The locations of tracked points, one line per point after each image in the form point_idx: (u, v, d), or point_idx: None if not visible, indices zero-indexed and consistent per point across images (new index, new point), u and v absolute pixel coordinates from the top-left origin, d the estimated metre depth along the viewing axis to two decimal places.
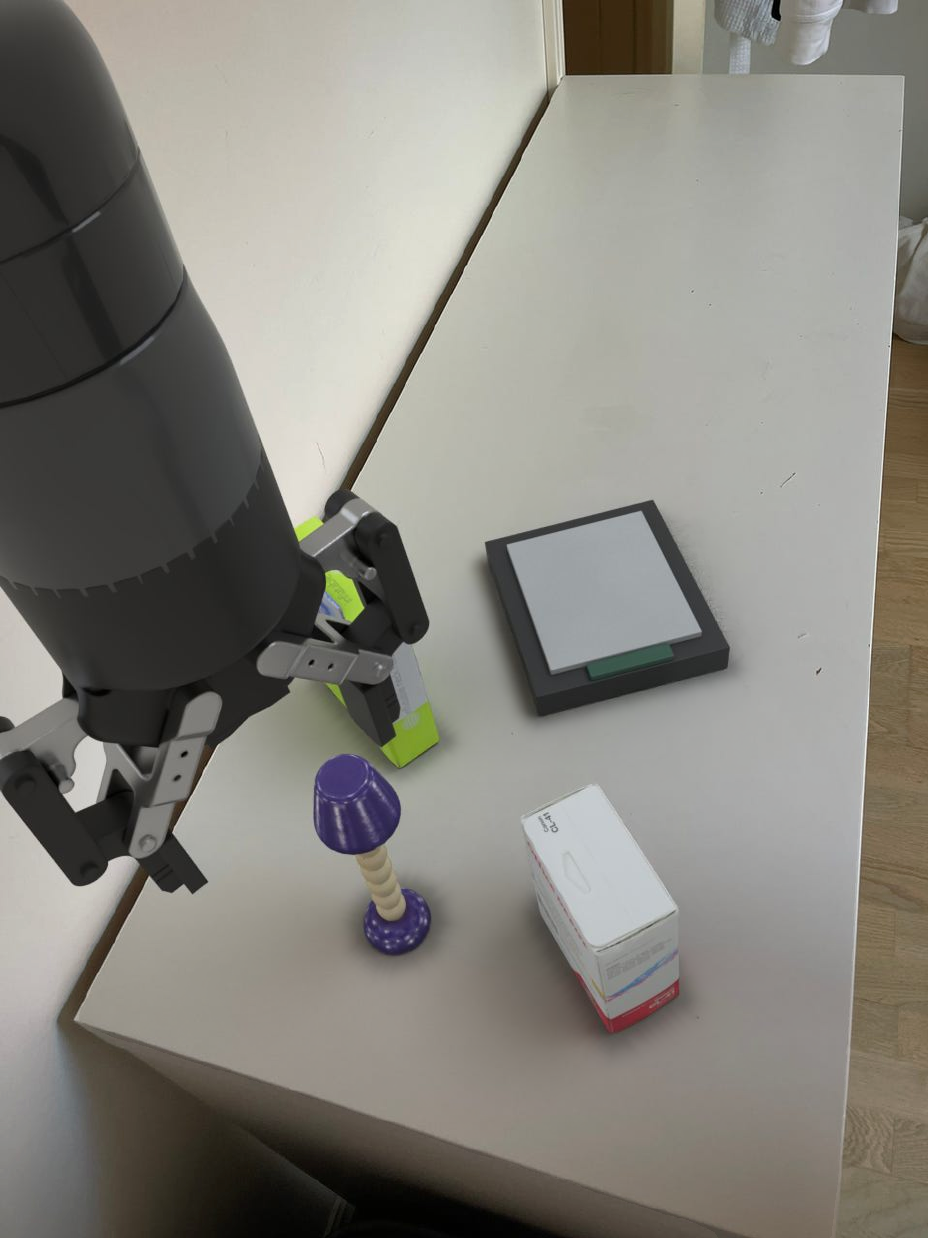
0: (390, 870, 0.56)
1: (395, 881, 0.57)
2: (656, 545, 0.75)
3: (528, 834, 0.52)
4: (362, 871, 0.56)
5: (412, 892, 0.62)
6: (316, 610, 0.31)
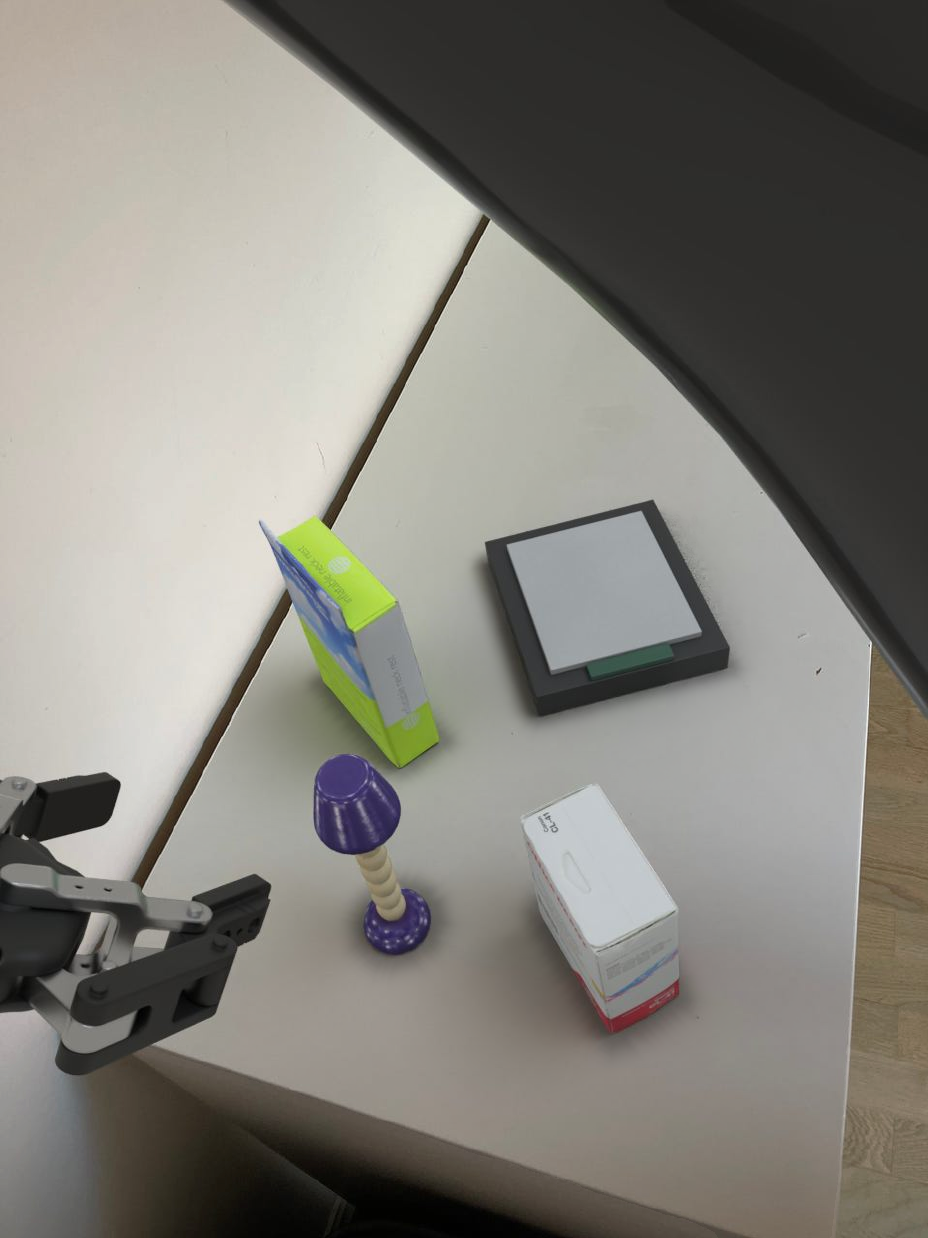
0: (390, 870, 0.56)
1: (395, 881, 0.57)
2: (656, 545, 0.75)
3: (528, 834, 0.52)
4: (362, 871, 0.56)
5: (412, 892, 0.62)
6: None
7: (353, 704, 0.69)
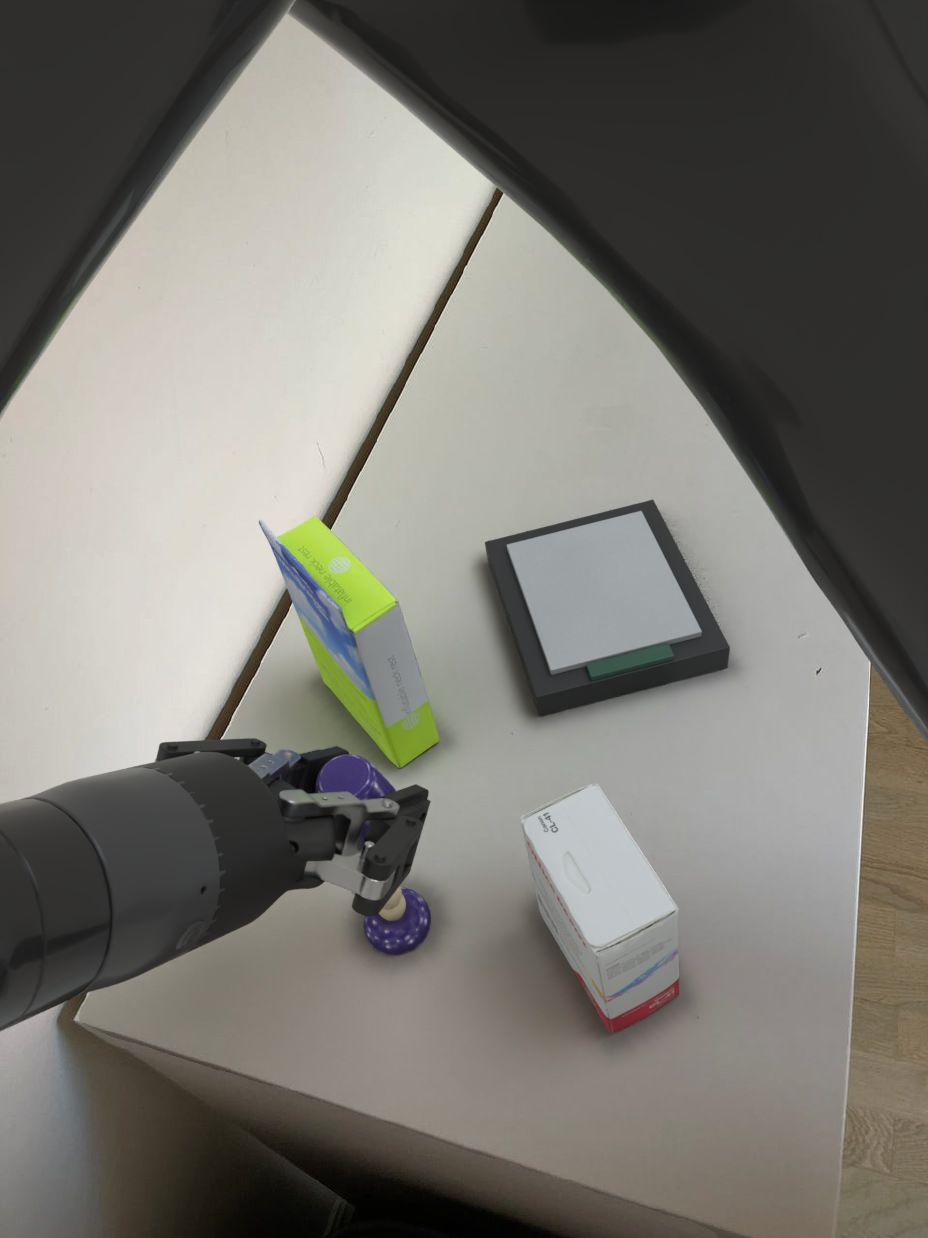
0: None
1: None
2: (656, 545, 0.75)
3: (528, 834, 0.52)
4: None
5: (412, 892, 0.62)
6: None
7: (353, 704, 0.69)
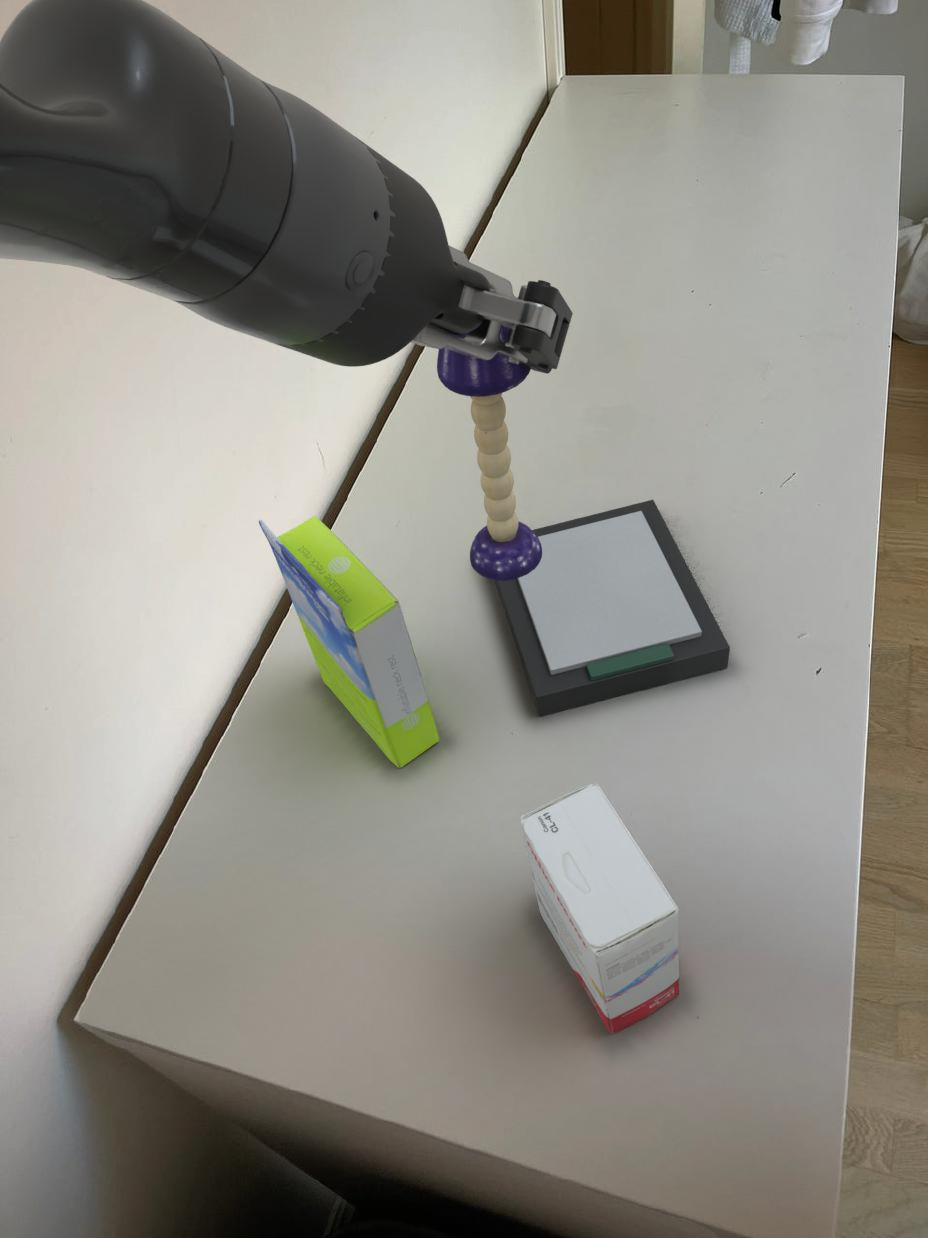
0: (509, 460, 0.52)
1: (512, 480, 0.53)
2: (656, 545, 0.75)
3: (528, 834, 0.52)
4: (480, 458, 0.52)
5: None
6: None
7: (353, 704, 0.69)
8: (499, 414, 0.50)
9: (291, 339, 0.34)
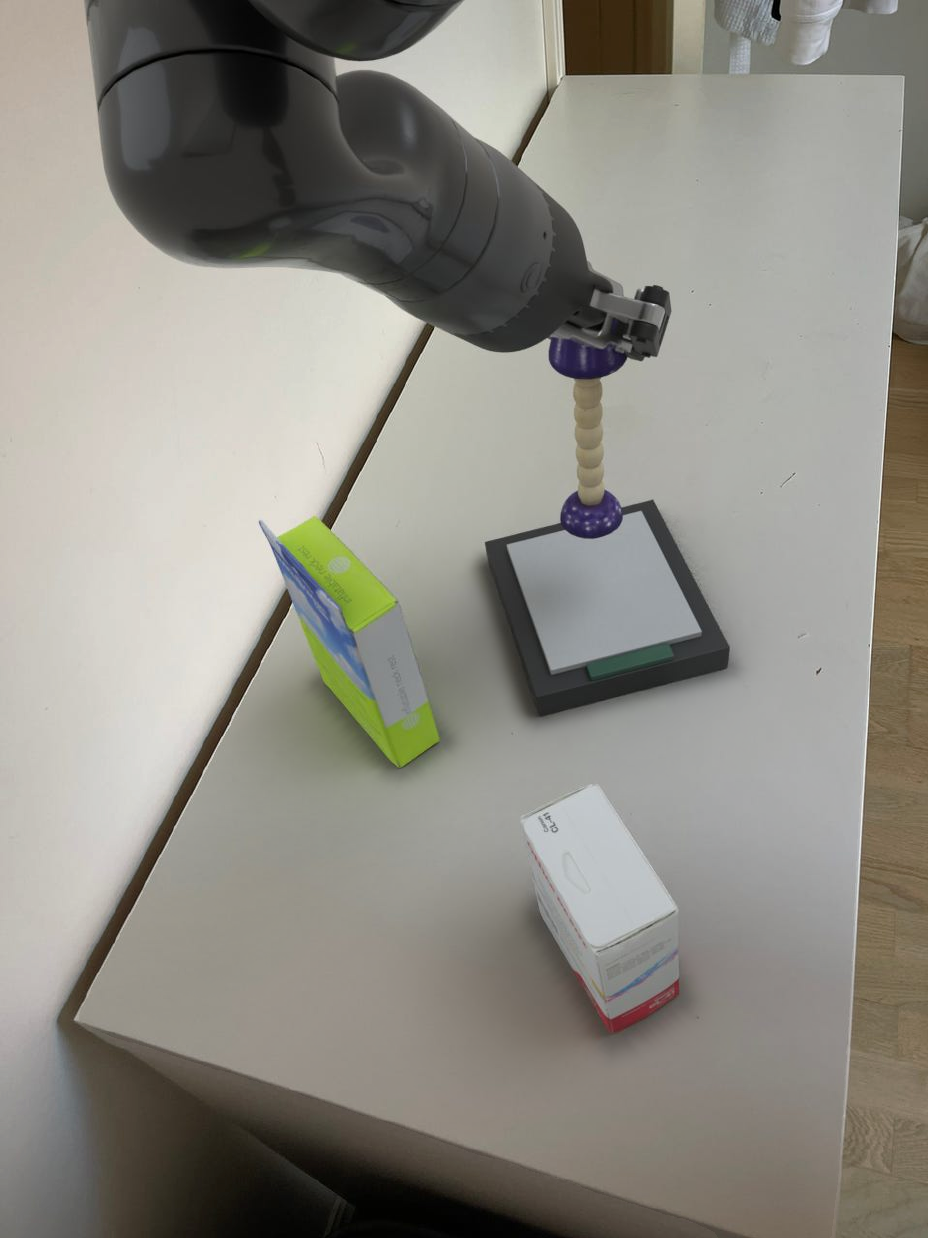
0: (602, 434, 0.62)
1: (603, 451, 0.63)
2: (656, 545, 0.75)
3: (528, 834, 0.52)
4: (578, 432, 0.62)
5: None
6: None
7: (353, 704, 0.69)
8: (598, 395, 0.60)
9: (471, 330, 0.44)
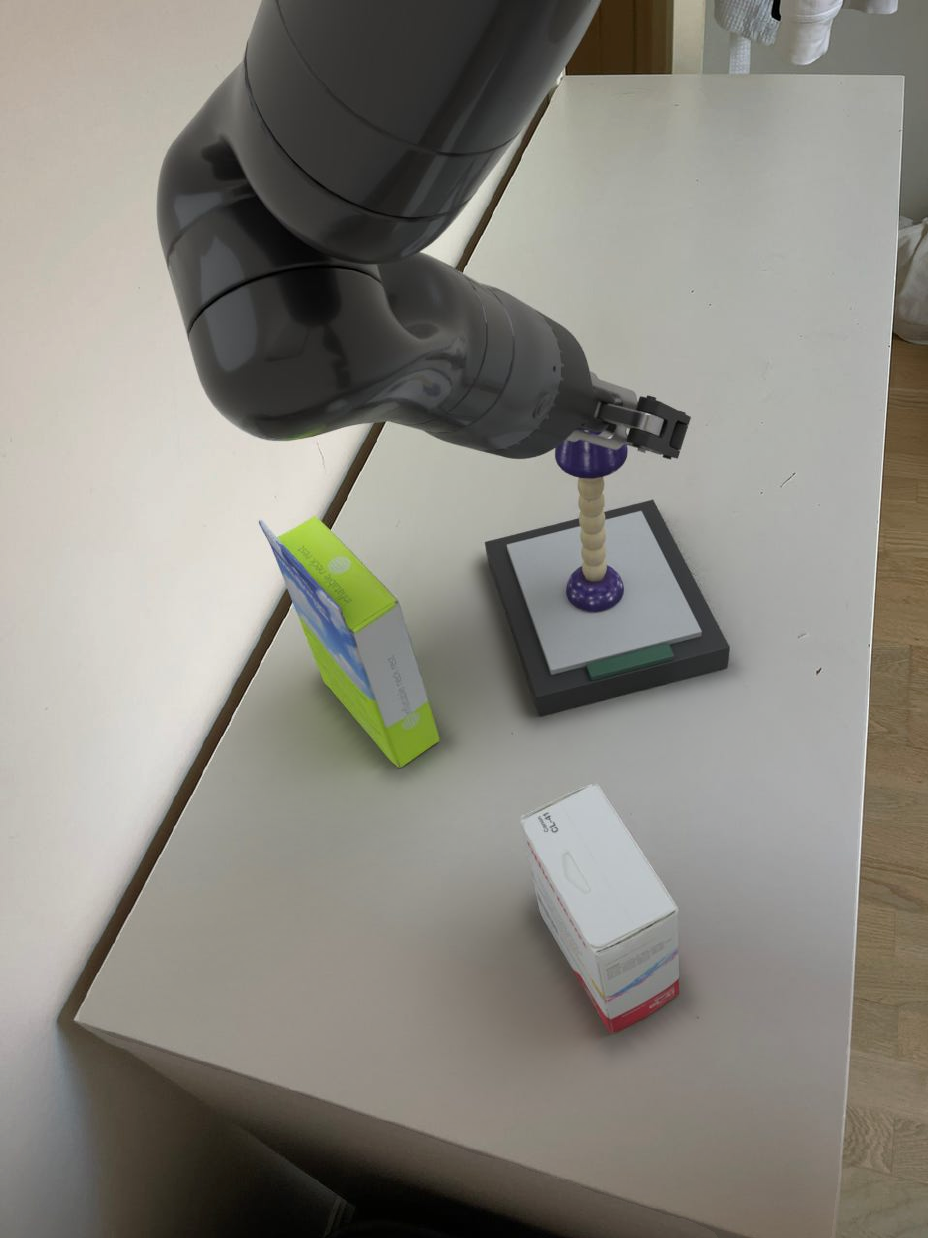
0: (604, 520, 0.68)
1: (605, 535, 0.69)
2: (656, 545, 0.75)
3: (528, 834, 0.52)
4: (582, 519, 0.67)
5: (607, 565, 0.73)
6: None
7: (353, 704, 0.69)
8: (600, 488, 0.65)
9: (488, 448, 0.49)
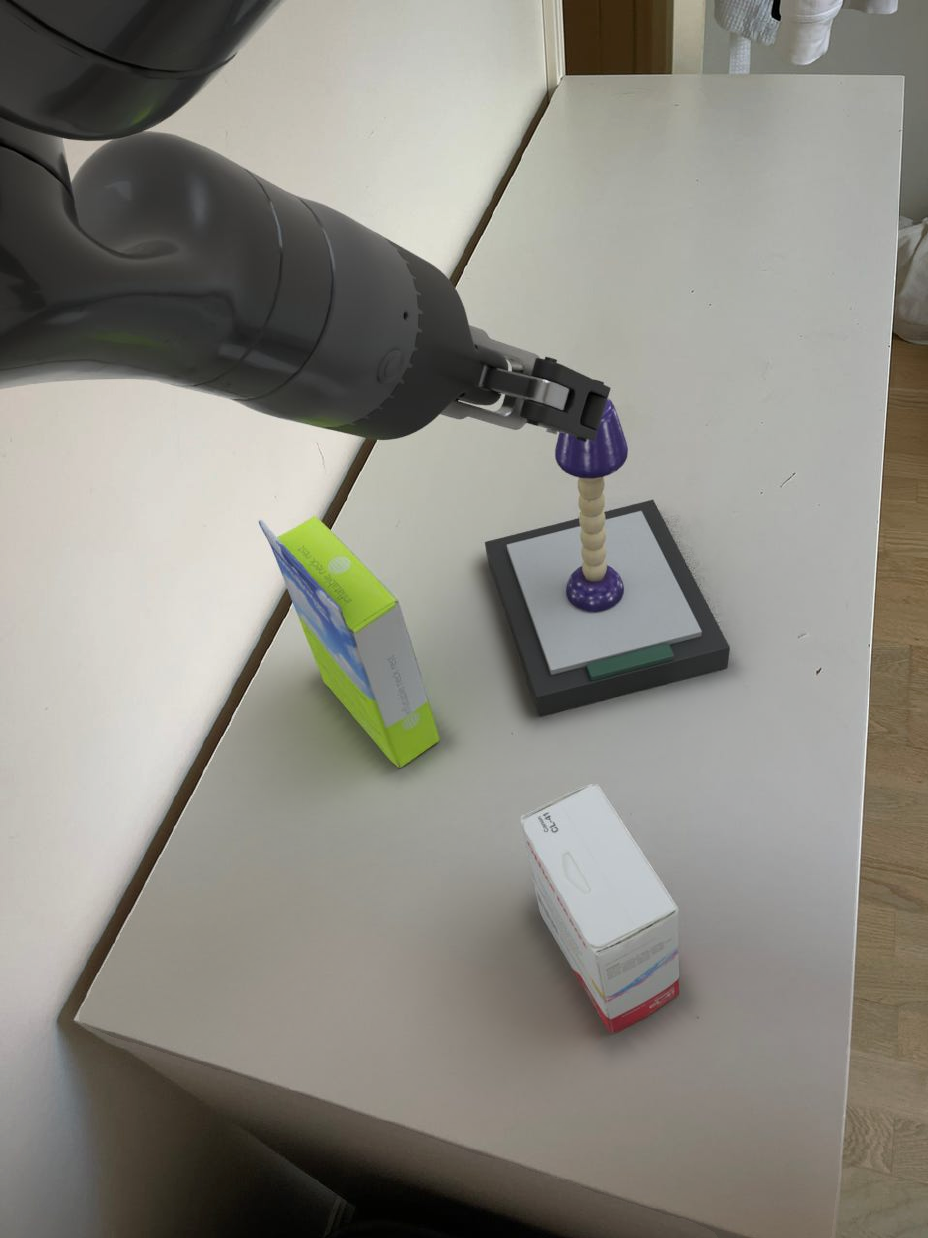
0: (604, 520, 0.68)
1: (605, 535, 0.69)
2: (656, 545, 0.75)
3: (528, 834, 0.52)
4: (582, 519, 0.67)
5: (607, 565, 0.73)
6: None
7: (353, 704, 0.69)
8: (600, 488, 0.65)
9: (326, 424, 0.37)
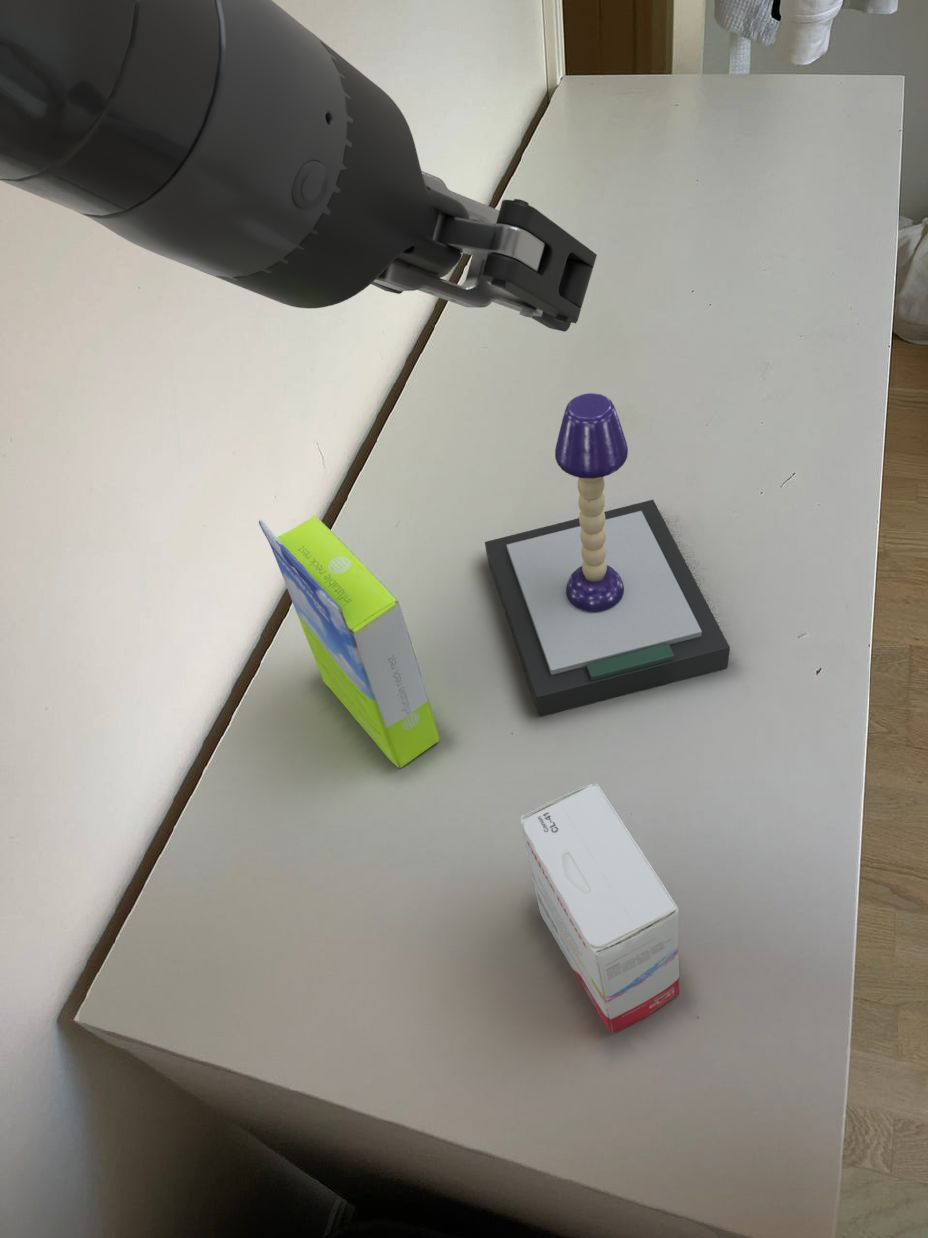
0: (604, 520, 0.68)
1: (605, 535, 0.69)
2: (656, 545, 0.75)
3: (528, 834, 0.52)
4: (582, 519, 0.67)
5: (607, 565, 0.73)
6: None
7: (353, 704, 0.69)
8: (600, 488, 0.65)
9: (232, 268, 0.29)
